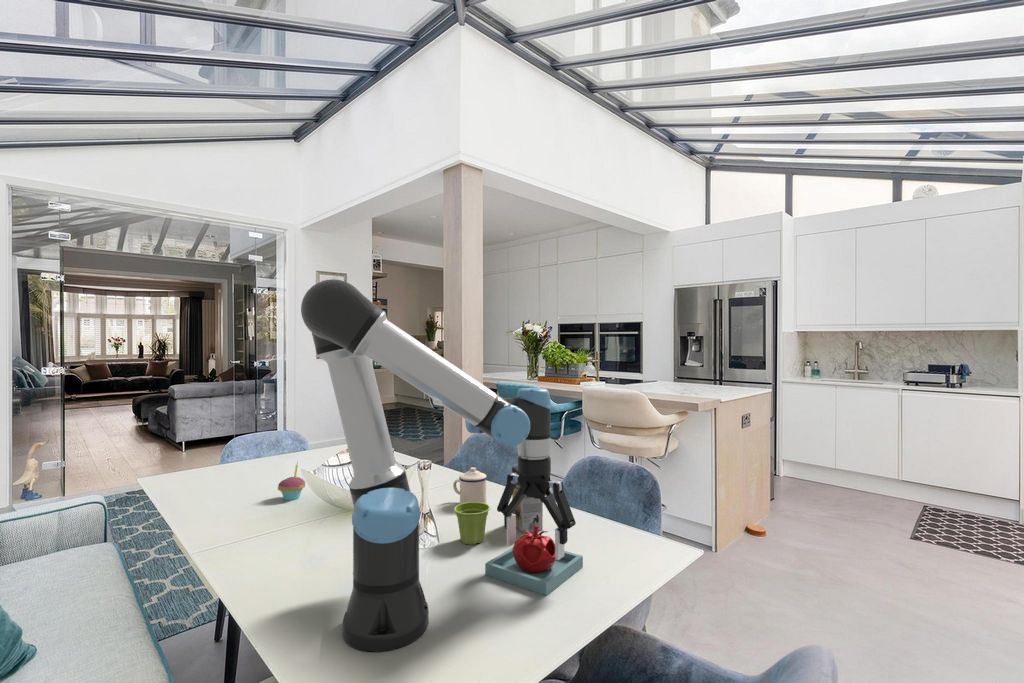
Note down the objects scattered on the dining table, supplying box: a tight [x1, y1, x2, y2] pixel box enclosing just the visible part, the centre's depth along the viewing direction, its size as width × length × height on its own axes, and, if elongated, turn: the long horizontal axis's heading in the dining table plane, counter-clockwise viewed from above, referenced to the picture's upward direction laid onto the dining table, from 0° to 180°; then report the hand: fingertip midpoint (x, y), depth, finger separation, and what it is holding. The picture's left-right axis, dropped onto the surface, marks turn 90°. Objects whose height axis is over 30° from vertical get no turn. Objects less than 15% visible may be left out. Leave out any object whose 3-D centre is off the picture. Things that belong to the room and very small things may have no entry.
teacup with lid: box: [452, 467, 488, 504], centre depth 157 cm, size 12×9×12 cm
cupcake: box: [277, 461, 306, 501], centre depth 163 cm, size 9×8×12 cm
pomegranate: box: [512, 525, 555, 573], centre depth 109 cm, size 10×10×9 cm
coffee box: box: [511, 465, 544, 533], centre depth 137 cm, size 9×6×16 cm
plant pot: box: [453, 502, 491, 546], centre depth 126 cm, size 9×9×9 cm
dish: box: [484, 547, 584, 597], centre depth 109 cm, size 16×16×2 cm
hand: (534, 550), depth 109 cm, fingers open, 12 cm apart
